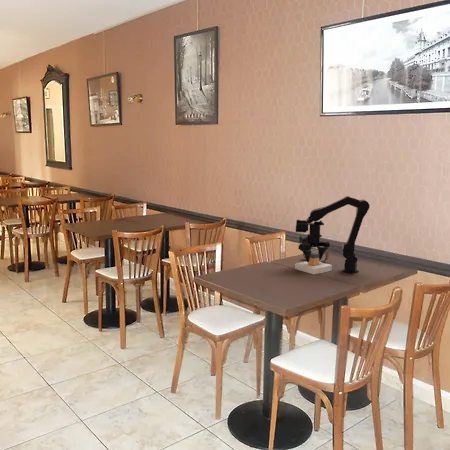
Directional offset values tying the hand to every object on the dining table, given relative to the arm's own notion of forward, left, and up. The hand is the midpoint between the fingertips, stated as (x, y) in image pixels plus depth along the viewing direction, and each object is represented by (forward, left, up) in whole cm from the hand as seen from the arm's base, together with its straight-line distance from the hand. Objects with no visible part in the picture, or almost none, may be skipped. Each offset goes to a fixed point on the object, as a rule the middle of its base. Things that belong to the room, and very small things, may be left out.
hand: (313, 261), depth 261 cm
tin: (-15, -13, -5) cm, 21 cm away
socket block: (0, 0, -5) cm, 5 cm away
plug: (0, 0, -5) cm, 5 cm away
